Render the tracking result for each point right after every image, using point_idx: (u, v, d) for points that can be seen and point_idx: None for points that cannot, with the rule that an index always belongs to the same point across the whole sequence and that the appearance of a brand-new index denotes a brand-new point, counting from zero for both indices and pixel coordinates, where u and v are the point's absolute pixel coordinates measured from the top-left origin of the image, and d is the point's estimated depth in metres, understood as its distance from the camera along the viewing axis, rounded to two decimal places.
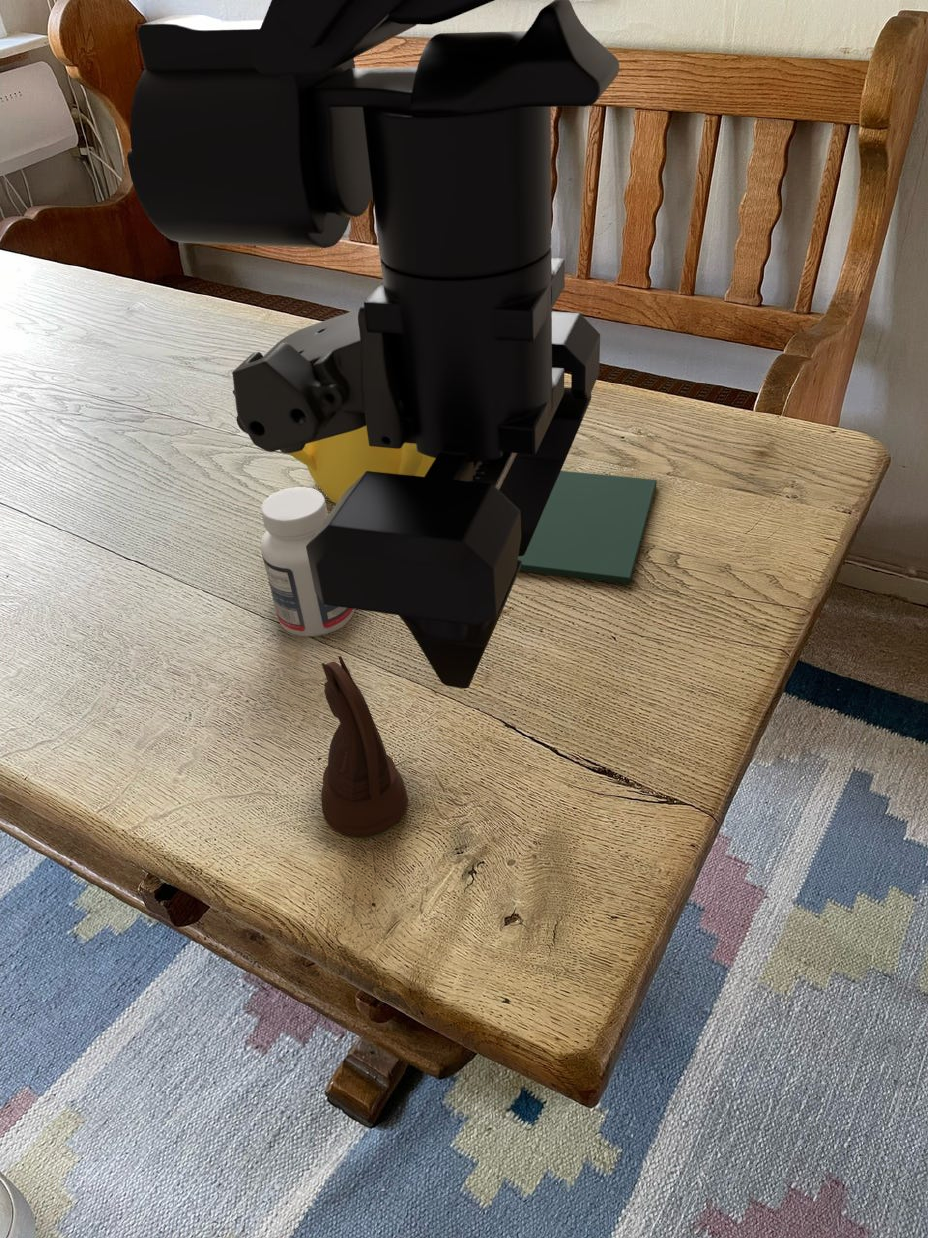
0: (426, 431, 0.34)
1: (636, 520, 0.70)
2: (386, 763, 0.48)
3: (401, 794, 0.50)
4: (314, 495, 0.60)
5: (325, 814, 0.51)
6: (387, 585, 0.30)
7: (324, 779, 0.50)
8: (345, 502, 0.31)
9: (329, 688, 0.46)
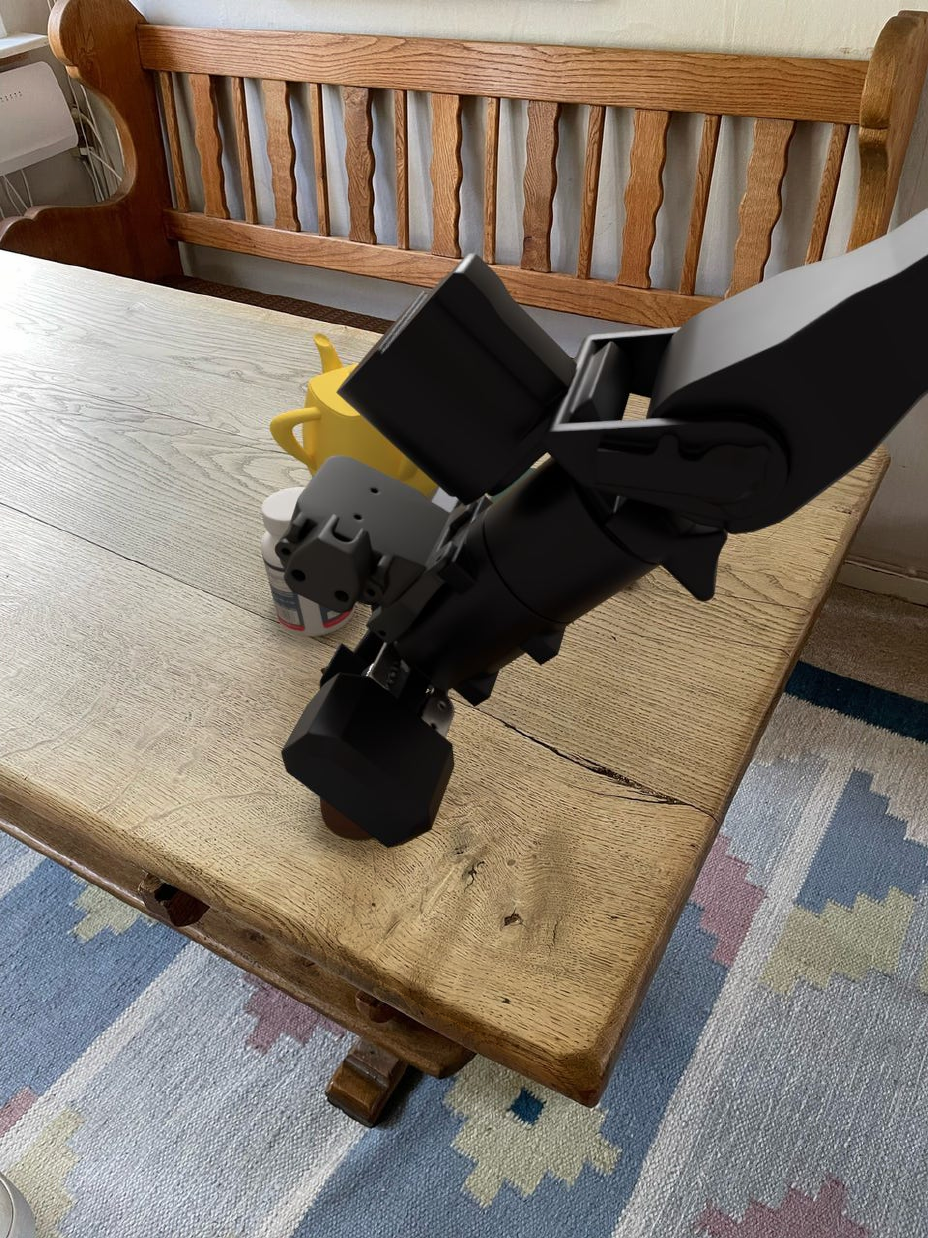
0: (416, 648, 0.39)
1: None
2: None
3: None
4: None
5: (329, 824, 0.50)
6: (351, 797, 0.36)
7: None
8: (353, 712, 0.36)
9: None
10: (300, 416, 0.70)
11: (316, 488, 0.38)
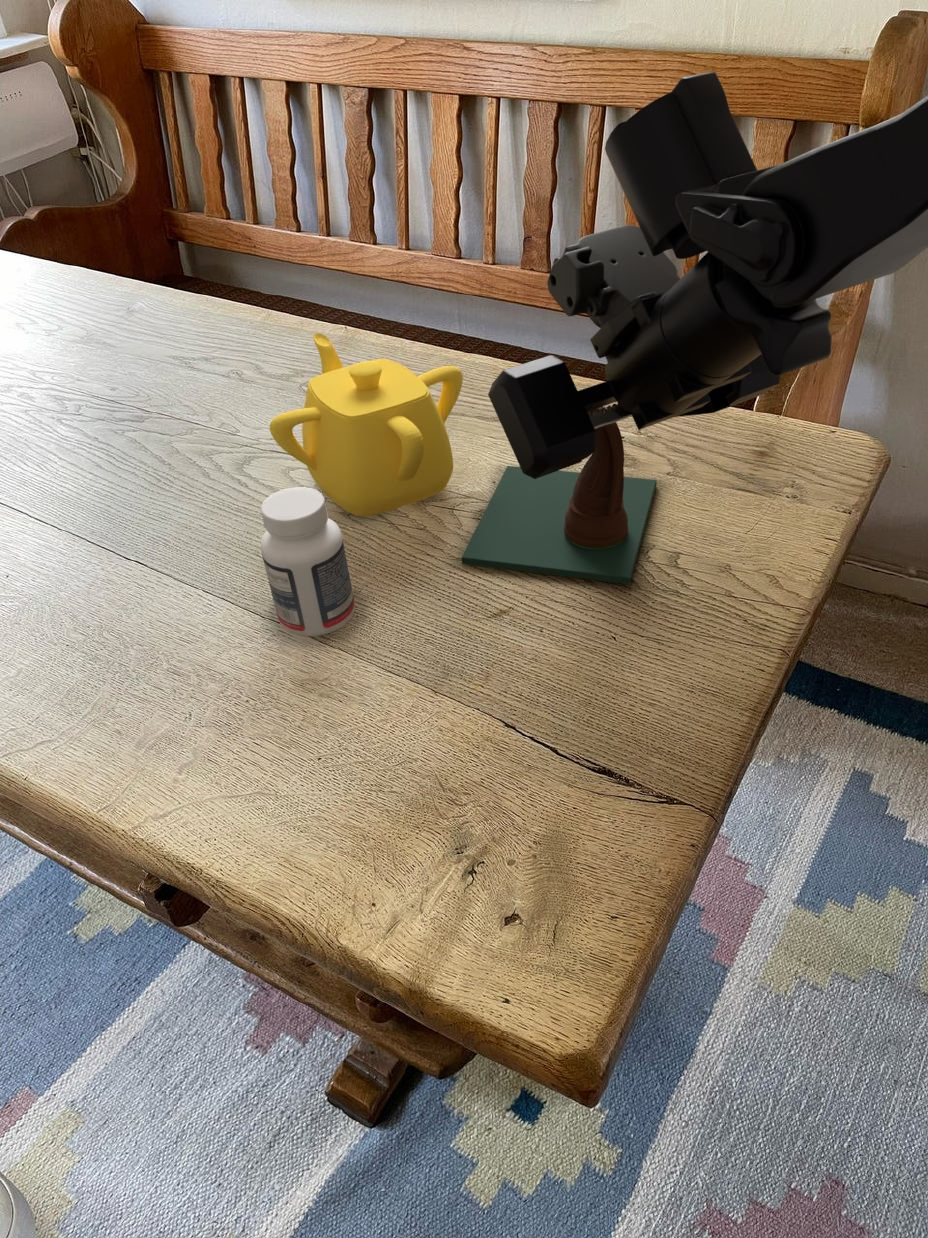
0: (613, 367, 0.56)
1: (636, 520, 0.70)
2: (623, 486, 0.66)
3: (626, 519, 0.68)
4: (314, 495, 0.60)
5: (568, 533, 0.69)
6: (511, 423, 0.55)
7: (570, 504, 0.68)
8: (536, 371, 0.54)
9: None
10: (300, 416, 0.70)
11: (601, 236, 0.56)
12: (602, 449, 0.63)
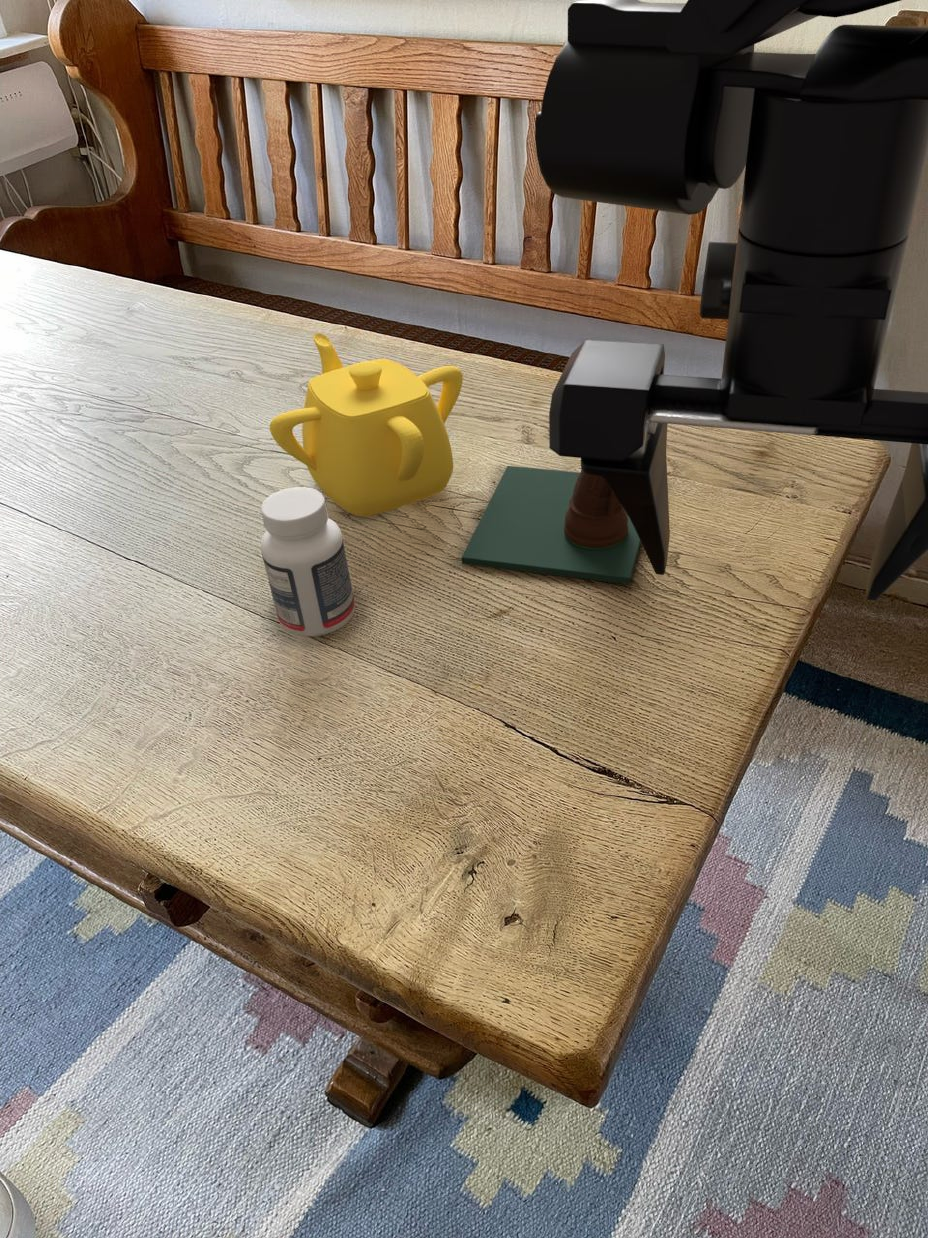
0: None
1: None
2: None
3: (626, 519, 0.68)
4: (314, 495, 0.60)
5: (568, 533, 0.69)
6: None
7: (570, 504, 0.68)
8: None
9: None
10: (300, 416, 0.70)
11: None
12: None
